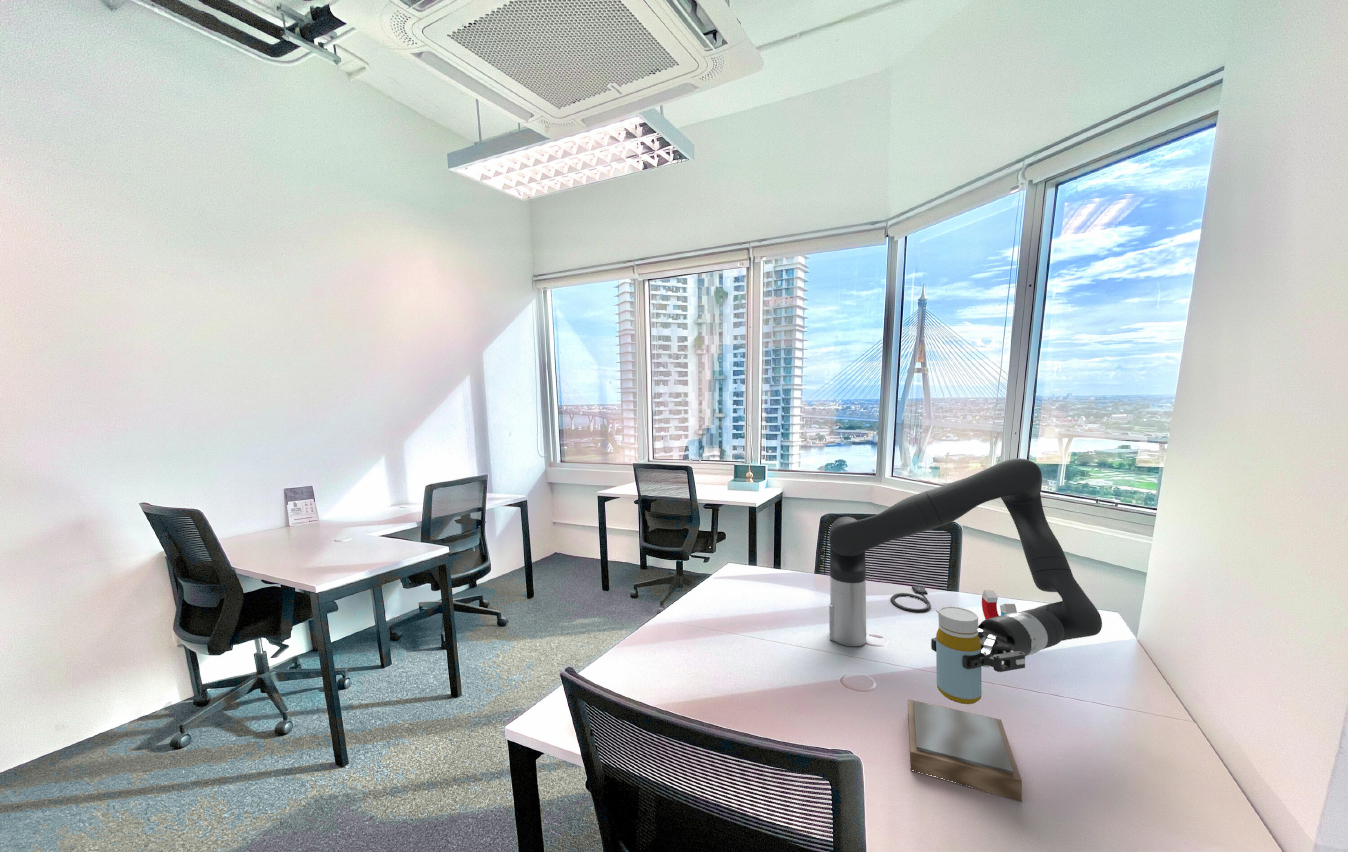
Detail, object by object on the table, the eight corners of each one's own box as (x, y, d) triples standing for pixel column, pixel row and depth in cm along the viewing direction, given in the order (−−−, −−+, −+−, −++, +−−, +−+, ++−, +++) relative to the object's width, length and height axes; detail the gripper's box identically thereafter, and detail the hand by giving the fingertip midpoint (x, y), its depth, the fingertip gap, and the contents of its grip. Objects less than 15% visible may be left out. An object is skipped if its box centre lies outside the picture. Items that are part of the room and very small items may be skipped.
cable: (902, 624, 137) (902, 619, 137) (882, 587, 165) (882, 583, 164) (953, 628, 134) (953, 623, 134) (924, 590, 162) (924, 585, 161)
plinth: (910, 770, 82) (910, 748, 82) (908, 715, 96) (907, 696, 96) (1021, 801, 75) (1021, 777, 75) (1001, 737, 89) (1001, 716, 89)
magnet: (1017, 642, 124) (1018, 605, 124) (1007, 642, 125) (1007, 605, 124) (991, 621, 136) (991, 588, 136) (981, 621, 136) (981, 588, 136)
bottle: (928, 684, 88) (927, 606, 88) (963, 680, 89) (962, 604, 88) (953, 707, 81) (952, 623, 81) (991, 703, 82) (990, 620, 81)
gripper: (977, 602, 96) (914, 617, 91) (1053, 633, 83) (986, 653, 77) (977, 637, 97) (915, 654, 91) (1053, 674, 83) (986, 697, 77)
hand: (948, 653), depth 84 cm, fingers closed on bottle, 5 cm apart
